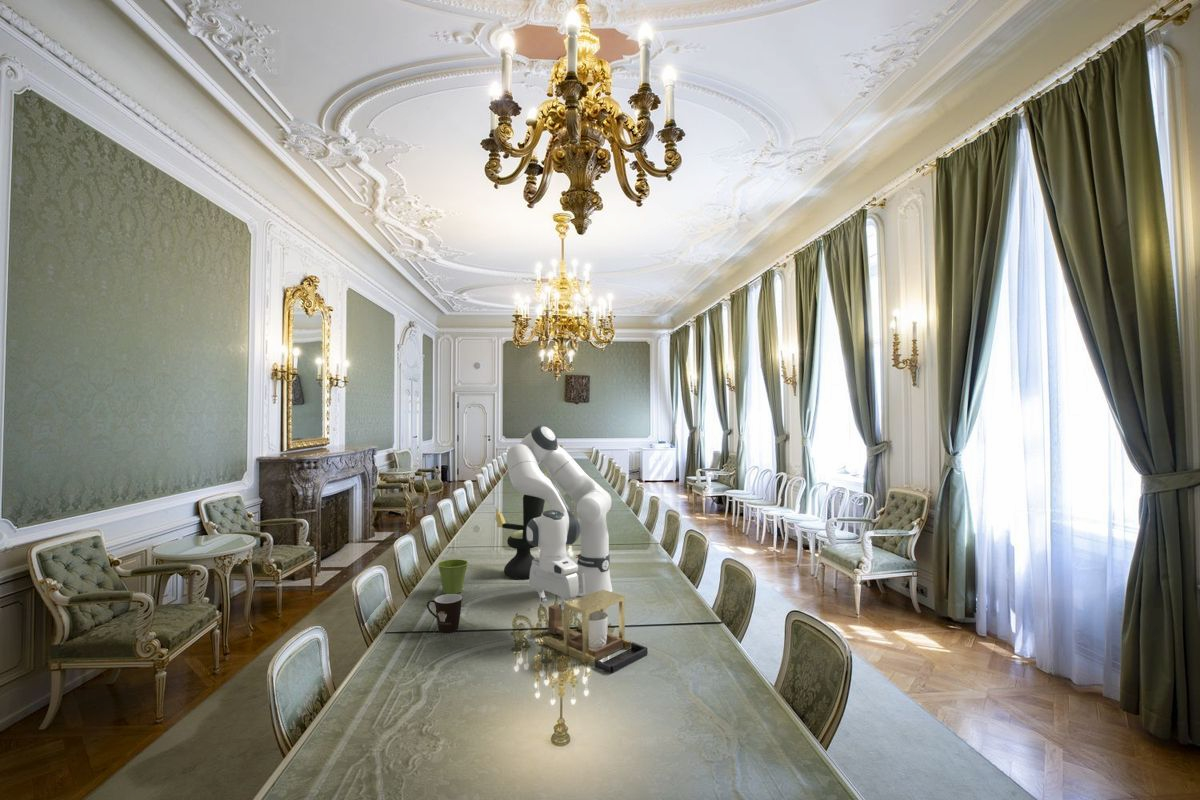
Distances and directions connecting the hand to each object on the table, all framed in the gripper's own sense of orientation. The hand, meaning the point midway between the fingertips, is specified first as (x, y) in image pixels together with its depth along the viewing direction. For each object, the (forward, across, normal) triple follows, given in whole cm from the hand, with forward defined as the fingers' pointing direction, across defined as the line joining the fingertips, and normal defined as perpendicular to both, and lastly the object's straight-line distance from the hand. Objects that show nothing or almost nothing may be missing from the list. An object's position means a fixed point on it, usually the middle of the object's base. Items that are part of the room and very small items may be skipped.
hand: (552, 605), depth 179 cm
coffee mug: (+9, -27, -22) cm, 36 cm away
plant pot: (+9, -57, -2) cm, 58 cm away
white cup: (+9, +18, +1) cm, 20 cm away
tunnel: (+8, +18, +1) cm, 20 cm away
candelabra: (+9, -54, +32) cm, 63 cm away
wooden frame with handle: (+8, +12, +1) cm, 14 cm away
